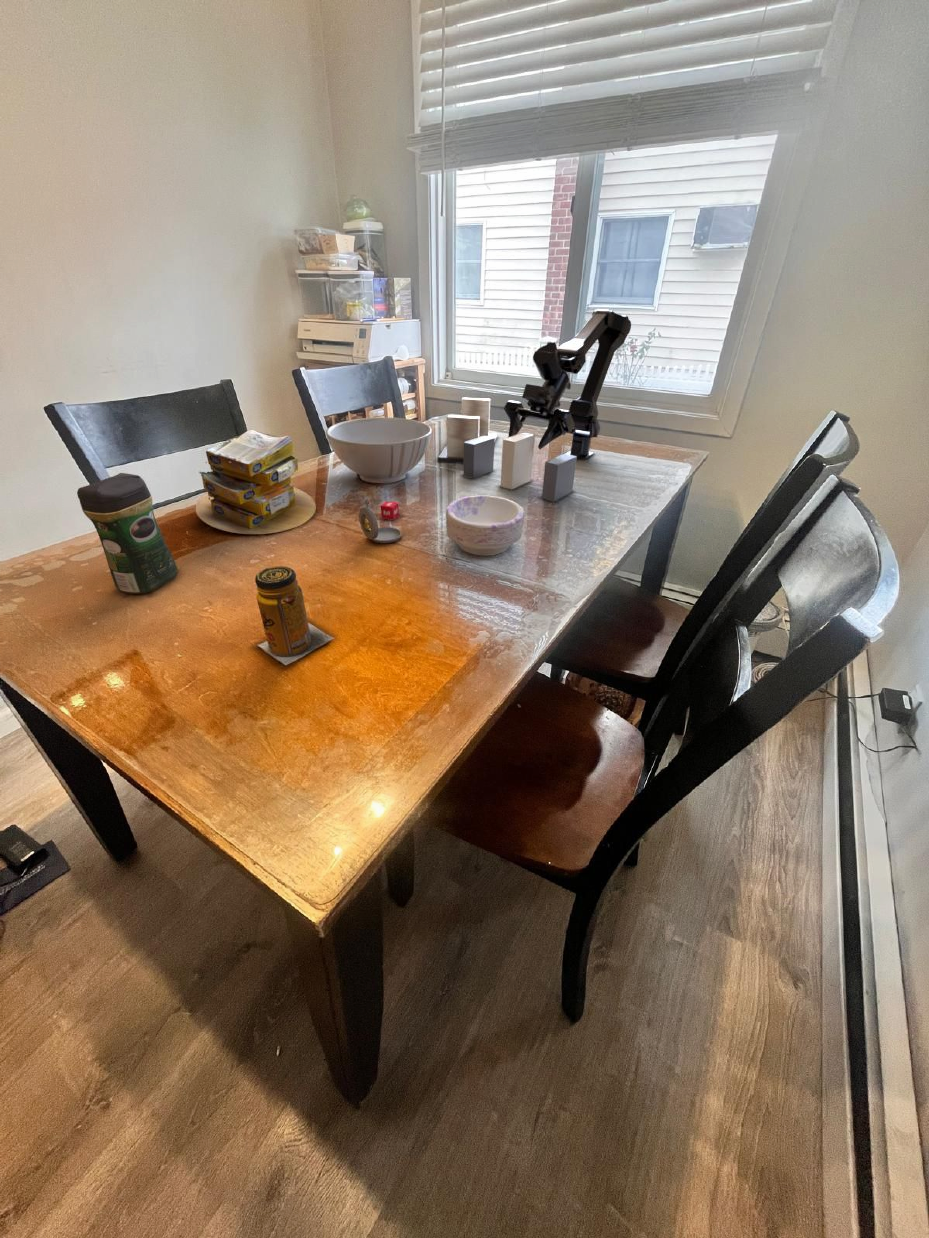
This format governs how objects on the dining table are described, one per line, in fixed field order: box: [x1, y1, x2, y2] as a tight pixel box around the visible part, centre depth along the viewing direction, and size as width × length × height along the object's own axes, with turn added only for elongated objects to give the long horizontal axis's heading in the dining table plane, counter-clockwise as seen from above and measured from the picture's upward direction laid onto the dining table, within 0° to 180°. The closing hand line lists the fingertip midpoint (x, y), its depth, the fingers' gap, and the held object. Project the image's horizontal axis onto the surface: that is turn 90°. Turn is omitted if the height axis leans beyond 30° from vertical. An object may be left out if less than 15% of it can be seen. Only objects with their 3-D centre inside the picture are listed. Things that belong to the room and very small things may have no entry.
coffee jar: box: [76, 472, 179, 595], centre depth 85 cm, size 10×8×19 cm
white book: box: [500, 432, 536, 490], centre depth 132 cm, size 9×4×12 cm, turn 141°
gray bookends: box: [462, 436, 578, 502], centre depth 133 cm, size 9×28×9 cm, turn 51°
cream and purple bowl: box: [445, 494, 525, 557], centre depth 102 cm, size 15×15×8 cm
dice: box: [379, 500, 400, 521], centre depth 115 cm, size 3×3×3 cm
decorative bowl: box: [325, 416, 433, 484], centre depth 136 cm, size 27×27×12 cm
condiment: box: [254, 565, 335, 666], centre depth 73 cm, size 7×8×12 cm
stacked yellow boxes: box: [195, 429, 317, 535], centre depth 112 cm, size 25×25×17 cm
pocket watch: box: [358, 494, 402, 544], centre depth 104 cm, size 8×8×10 cm
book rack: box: [437, 397, 498, 464], centre depth 158 cm, size 14×30×12 cm, turn 171°
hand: (523, 444), depth 132 cm, fingers open, 9 cm apart
